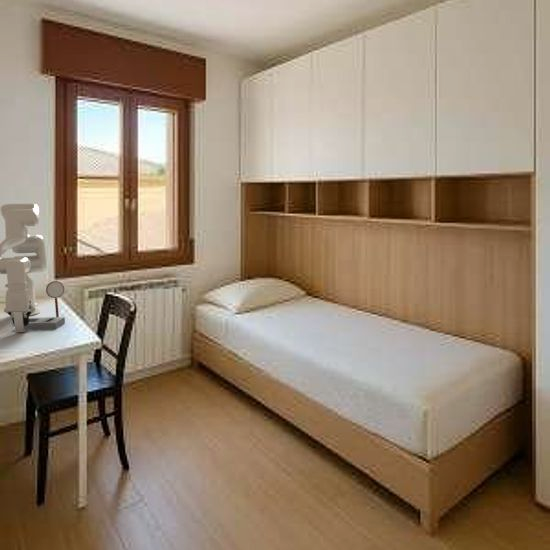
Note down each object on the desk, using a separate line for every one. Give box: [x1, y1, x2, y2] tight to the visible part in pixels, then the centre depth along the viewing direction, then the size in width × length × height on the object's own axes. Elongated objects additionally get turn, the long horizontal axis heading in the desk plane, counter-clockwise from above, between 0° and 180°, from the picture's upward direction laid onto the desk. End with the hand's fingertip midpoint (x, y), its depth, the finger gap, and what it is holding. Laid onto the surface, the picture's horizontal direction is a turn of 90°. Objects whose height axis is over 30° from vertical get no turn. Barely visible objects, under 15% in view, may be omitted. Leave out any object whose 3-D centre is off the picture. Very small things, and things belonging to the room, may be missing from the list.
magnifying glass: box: [45, 280, 65, 317], centre depth 247 cm, size 9×2×20 cm, turn 126°
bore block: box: [28, 316, 66, 330], centre depth 236 cm, size 11×19×3 cm, turn 93°
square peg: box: [13, 312, 29, 333], centre depth 224 cm, size 4×4×10 cm
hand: (21, 325), depth 225 cm, fingers closed on square peg, 4 cm apart
